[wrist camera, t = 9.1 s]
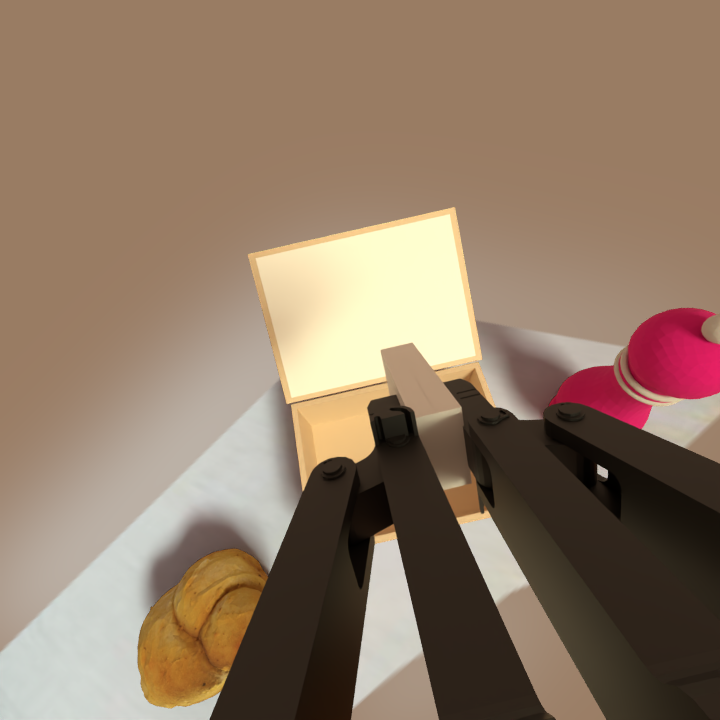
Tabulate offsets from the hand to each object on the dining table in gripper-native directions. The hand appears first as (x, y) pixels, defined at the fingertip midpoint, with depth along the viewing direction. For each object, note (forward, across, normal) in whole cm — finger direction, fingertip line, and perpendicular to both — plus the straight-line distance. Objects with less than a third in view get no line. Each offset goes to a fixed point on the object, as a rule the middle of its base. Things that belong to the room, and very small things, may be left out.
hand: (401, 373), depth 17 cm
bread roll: (+10, -20, -24) cm, 33 cm away
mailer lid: (+17, 0, -1) cm, 17 cm away
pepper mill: (+17, +19, -17) cm, 31 cm away
